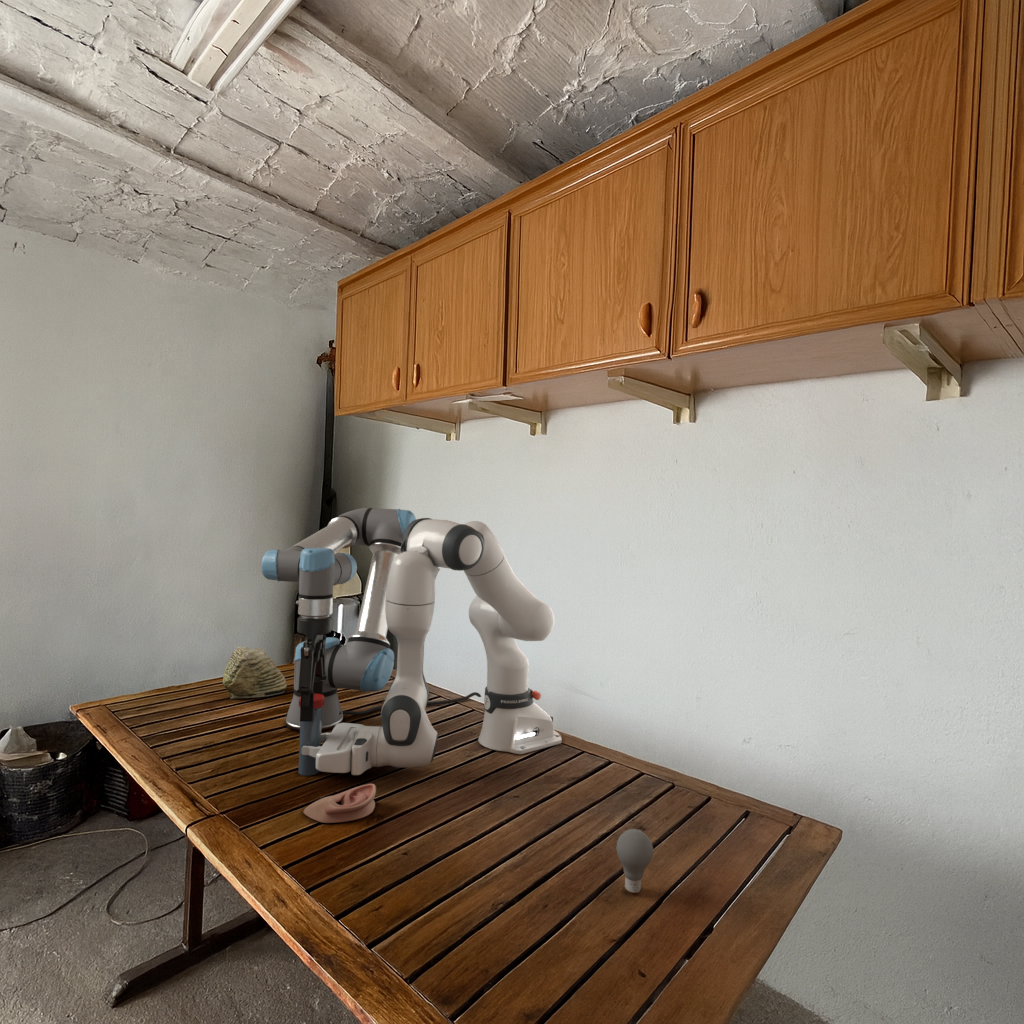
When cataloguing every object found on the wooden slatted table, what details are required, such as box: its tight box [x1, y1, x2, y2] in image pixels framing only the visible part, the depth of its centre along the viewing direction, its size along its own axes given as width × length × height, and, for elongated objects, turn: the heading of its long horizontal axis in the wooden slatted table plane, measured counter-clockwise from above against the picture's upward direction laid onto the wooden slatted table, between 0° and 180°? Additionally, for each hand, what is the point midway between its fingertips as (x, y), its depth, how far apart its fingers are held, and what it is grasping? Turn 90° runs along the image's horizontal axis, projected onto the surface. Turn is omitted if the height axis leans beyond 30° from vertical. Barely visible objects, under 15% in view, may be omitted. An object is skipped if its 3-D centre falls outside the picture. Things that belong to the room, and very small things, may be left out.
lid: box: [299, 694, 325, 709], centre depth 145 cm, size 6×6×2 cm
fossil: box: [222, 646, 288, 699], centre depth 198 cm, size 9×18×15 cm, turn 132°
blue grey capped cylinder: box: [297, 707, 322, 777], centre depth 146 cm, size 5×5×16 cm
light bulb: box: [615, 828, 654, 894], centre depth 106 cm, size 6×6×10 cm
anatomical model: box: [302, 783, 377, 824], centre depth 128 cm, size 13×4×12 cm
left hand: (311, 714), depth 145 cm, fingers open, 8 cm apart
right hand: (306, 744), depth 146 cm, fingers closed on blue grey capped cylinder, 5 cm apart
